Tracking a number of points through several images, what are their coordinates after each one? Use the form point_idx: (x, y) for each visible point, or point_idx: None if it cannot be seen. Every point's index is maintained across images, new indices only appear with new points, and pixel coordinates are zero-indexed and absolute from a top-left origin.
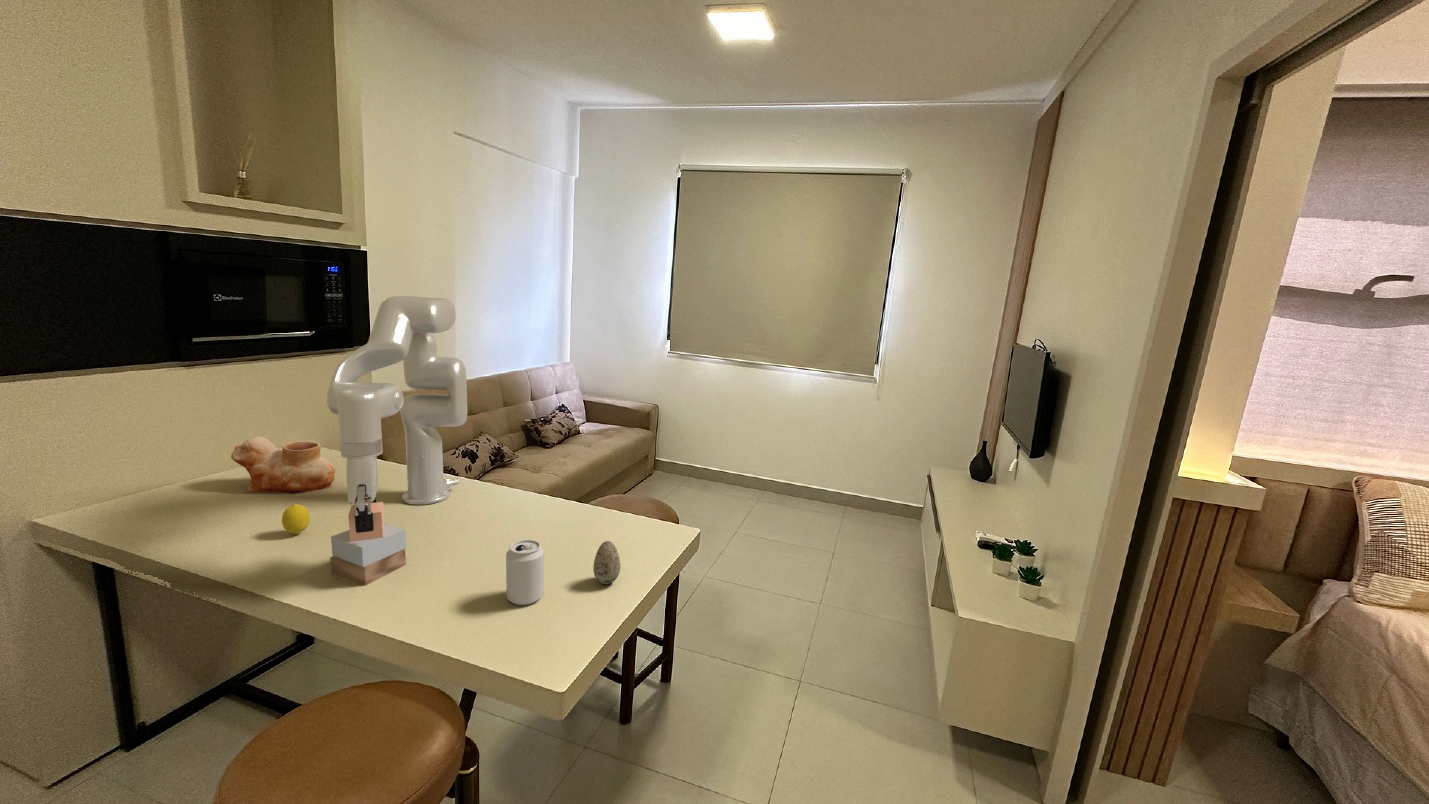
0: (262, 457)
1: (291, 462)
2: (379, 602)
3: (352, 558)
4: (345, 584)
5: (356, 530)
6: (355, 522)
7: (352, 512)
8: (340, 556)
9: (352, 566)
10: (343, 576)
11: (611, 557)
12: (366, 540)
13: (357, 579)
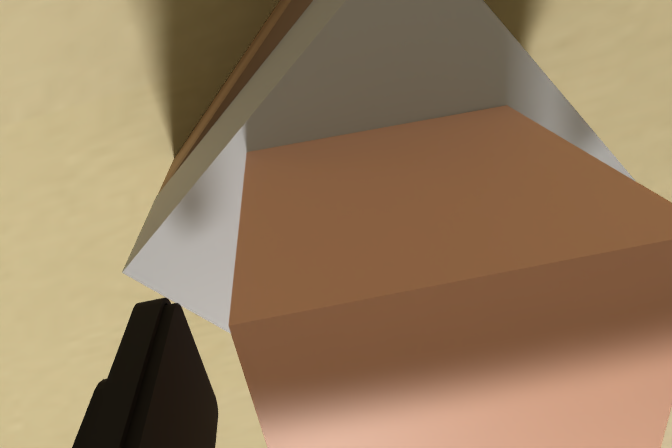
0: None
1: None
2: (3, 259)
3: (214, 129)
4: (194, 51)
5: (132, 321)
6: (101, 398)
7: (363, 339)
8: (302, 15)
9: (214, 111)
10: (266, 21)
11: None
12: None
13: (203, 117)
